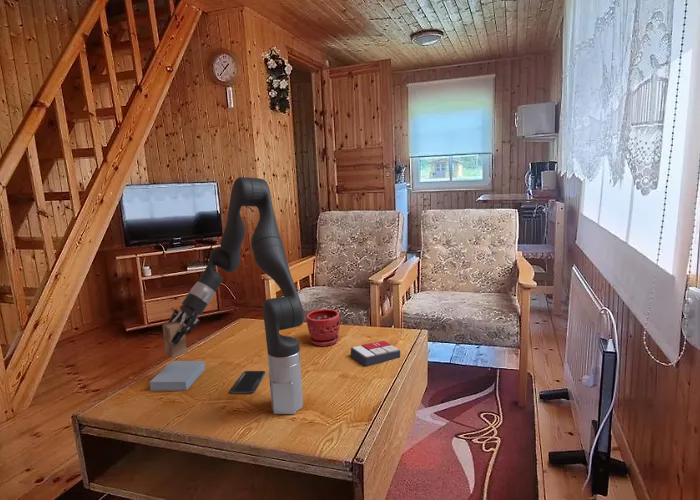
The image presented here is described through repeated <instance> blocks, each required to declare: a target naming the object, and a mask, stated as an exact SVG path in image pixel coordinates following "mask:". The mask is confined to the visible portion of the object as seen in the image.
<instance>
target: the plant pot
mask: <svg viewBox="0 0 700 500" xmlns="http://www.w3.org/2000/svg"><path fill="white" fill-rule="evenodd" d="M325 316H326V317H325ZM319 317H321V319H319ZM340 317H341V316H340V312H339V311H338V310H335V309H330V308H328V309H327V308H325V309H324V308H323V309H322V308H321V309H316V310H313V311H311V312H309V313H307V314H306V325H307V329H308V332H309V335H310V336H311V337H310V342H311V343H312V344H314V345H315V346H320V347H325V346H327V347H328V346H332V345H334V344H336V343H337V342H338V341H339V339H340V336H339V330H340V324H341V320H340Z"/></svg>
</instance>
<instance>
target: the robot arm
mask: <svg viewBox="0 0 700 500" xmlns="http://www.w3.org/2000/svg"><path fill="white" fill-rule="evenodd" d="M229 198H230V199H229V203H228V209H227V217H226V222H225V227H224V230H223V233H222V236H221V239H220V242H219V243H220V246H216V247H214V248H213V249H212V251H211V253H210V256H209V259H208V262H207V264H206V267H205V269H204V272H203V273H202V275H201V276H200V277H199V279H198V280H197V281H196V282H195V284H194V285H193V286H192V287H191V289H190V291H189V292H188V294H187V295H186V296H185V297H184V300H183V301H182V302H181V305H182V308H181V309H179V310H177V309H174V310H173V312H172V313H171V316H170V317H169V320H168V322H167V323H166V324H168V323H171V322H176V321H178V322H180V325H181V327H180V328H179V330H178V332H177V333H176V335H175V336H174V337H173V339H172V340H171V342H172V343H174V344H175V345H177V344H178V342H179V341H180V339H181V338H182V336H183V335H185V336H186V335H190V334H191V333H192V332H193V330H194V329H195V328H196V327H197V325H199V323H200V321H201V320H200V319H199V318H197V317H198V316H199V315H200V316H201V315H202V313H203V312H204V311H205V309H206V308H207V307H208V305H209V303H210V301H211V300H212V299H213V296H214V295H215V293H216V291H218V288H219V287H220V285H221V284H222V282H223V277H222V276H221V274H219V273H218V272H217V271H216V270H215V267H218V268H219V269H221V270H223V271H225V273H226V272H227V273H233V272H235V271H236V270H237V269H238V268H239V266H240V262H241V247H242V244H243V241H244V238H245V235H246V227H245V224H244V221H243V218H242V216H241V209H242V207H255V208H257V209H258V213H259V214H258V215H259V218H258V219H259V220H258V223H257V225H256V227H255V229H254V231H253V233H252V236H251V241H250V246H251V249H252V253H253V256H254V261H255V263H256V265H257V266H258V267H259V269H260V270H262V272H264V273H265V274H266V275H267V276H268V277H270V278H271V279H272V280H273V281H274V282H275V284H276V285H277V286H278V288H279V289H280V291H281V293H282V295H283V296H278V297H273V298H268V299H265V300H264V302H263V305H262V315H263V323H264V331H265V339H266V341H265V342H266V349H267V360H268V365H267V366H268V377H269V389H270V391H269V392H270V400H271V401H270V403H271V410H272V411H273V415H295V414H296V412H298V411H300V410H301V409H302V408H303V406H304V398H303V397H304V396H303V383H302V379H303V378H302V366H301V363H302V362H301V350H300V349H301V348H300V341H299V340H298V339H297V338H296V337H293V336H289V335H284V334H280V331H282V330H288V329H292V328H297V327H301V326H302V325H303V323H304V322H305V321H304V320H305V314H304V308H303V304H302V302H301V298H300V296H299V293H298V290H297V287H296V285H295V282H294V280H293V277H292V274H291V270H290V268H289V267H290V266H289V263H288V259H287V255H286V250H285V248H284V243H283V241H282V237H281V234H280V231H279V228H278V225H277V221H276V216H275V211H274V205H273V200H272V195H271V190H270V185H269V184H268V182H267V180H266V179H264V178H258V177H250V176H249V177H248V176H247V177H246V176H245V177H244V176H239V177H237V178H236V179H235V180H234V182H233V184H232V187H231V191H230V197H229ZM183 327H184V328H183ZM162 338H163V339H164V335H163V337H162Z"/></svg>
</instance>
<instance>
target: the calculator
mask: <svg viewBox="0 0 700 500" xmlns="http://www.w3.org/2000/svg"><path fill="white" fill-rule="evenodd" d="M350 358H352V359H353V360H354V361H356V362H358V363H359V364H360V365H362V366H363V368H368V367H371V366H375V365H377V364H381V363H385V362H390V361H393V360H396V358H397V359H400V358H401V350H400V349H399V348H397V347H396V346H394V345H393V344H392V345H391V343H389V342H387V341H386V340H382V341H375V342H371V343H365V344H362V345H356V346H353V347H351V348H350ZM389 360H390V361H389Z"/></svg>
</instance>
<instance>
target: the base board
mask: <svg viewBox="0 0 700 500" xmlns="http://www.w3.org/2000/svg"><path fill="white" fill-rule="evenodd" d="M205 369H206V365H205V360H179V361H178V360H174V361H173V360H172V361H170V362H169V363H168V364H167V365H166V366H165V367H164V368H163V369H162V370H161V371H160V372H158V373H157V374H156V375H155V376H154V377H153V378H152V379H151V380H150V381H149V387H150V391H154V392H155V391H158V392H159V391H160V392H161V391H166V392H167V391H169V392H170V391H178V392H179V391H188V389H190V387H191V386H192V385H193V384H194V383H195V381H196V380H197V379H198V378H199V377H200V375H202V373H203V372H204V371H205Z"/></svg>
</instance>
